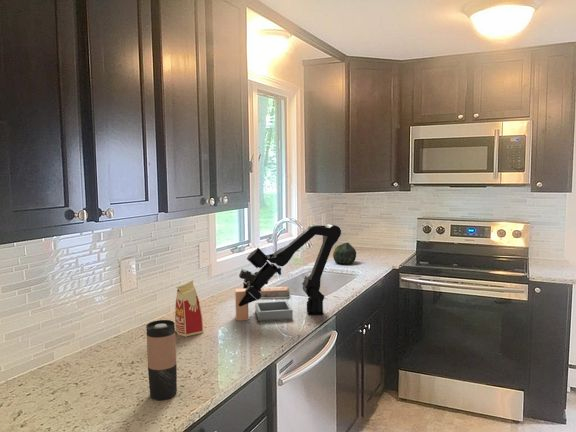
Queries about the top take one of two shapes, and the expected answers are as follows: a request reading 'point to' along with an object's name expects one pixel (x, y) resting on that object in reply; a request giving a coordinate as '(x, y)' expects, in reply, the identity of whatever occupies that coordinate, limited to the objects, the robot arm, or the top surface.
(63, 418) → the top surface
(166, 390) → the travel mug
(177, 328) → the red food bag
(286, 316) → the tray
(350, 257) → the squash
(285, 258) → the robot arm
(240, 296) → the peach block
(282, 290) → the packaged product
